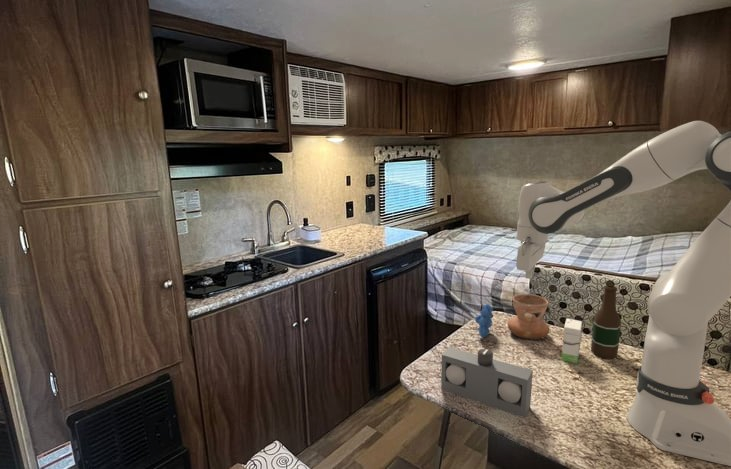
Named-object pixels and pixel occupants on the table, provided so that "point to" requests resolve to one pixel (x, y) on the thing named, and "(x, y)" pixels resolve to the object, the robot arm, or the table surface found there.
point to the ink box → (571, 340)
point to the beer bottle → (606, 326)
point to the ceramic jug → (529, 317)
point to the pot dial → (485, 357)
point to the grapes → (484, 320)
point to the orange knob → (456, 374)
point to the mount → (487, 381)
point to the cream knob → (510, 391)
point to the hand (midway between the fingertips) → (529, 277)
